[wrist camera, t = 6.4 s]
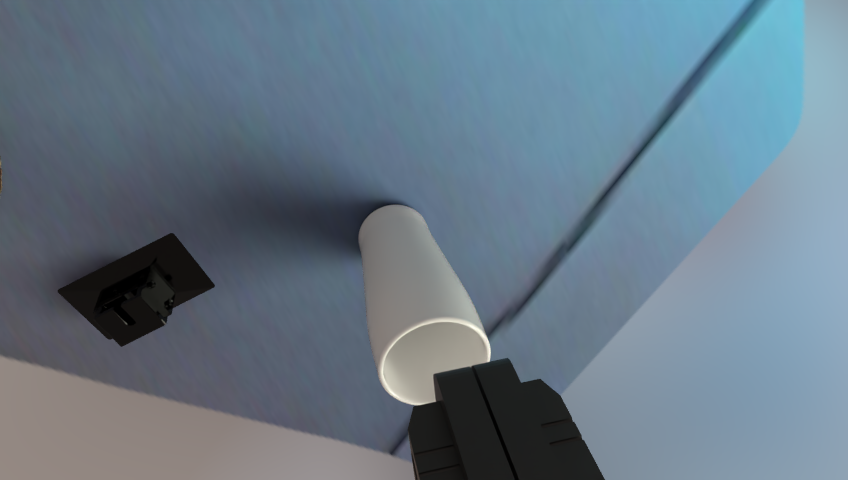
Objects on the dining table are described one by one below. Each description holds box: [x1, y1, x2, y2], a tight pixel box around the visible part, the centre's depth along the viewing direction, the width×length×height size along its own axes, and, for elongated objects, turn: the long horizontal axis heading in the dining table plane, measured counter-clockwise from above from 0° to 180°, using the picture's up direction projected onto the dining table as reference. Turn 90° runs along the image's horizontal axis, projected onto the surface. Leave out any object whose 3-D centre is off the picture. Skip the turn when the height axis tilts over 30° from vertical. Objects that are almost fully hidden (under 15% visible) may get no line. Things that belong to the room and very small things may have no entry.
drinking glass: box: [358, 205, 491, 405], centre depth 43 cm, size 7×7×15 cm
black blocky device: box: [58, 233, 215, 347], centre depth 46 cm, size 12×7×5 cm, turn 114°
